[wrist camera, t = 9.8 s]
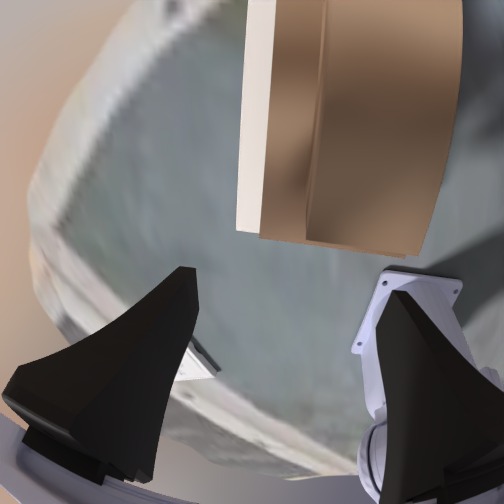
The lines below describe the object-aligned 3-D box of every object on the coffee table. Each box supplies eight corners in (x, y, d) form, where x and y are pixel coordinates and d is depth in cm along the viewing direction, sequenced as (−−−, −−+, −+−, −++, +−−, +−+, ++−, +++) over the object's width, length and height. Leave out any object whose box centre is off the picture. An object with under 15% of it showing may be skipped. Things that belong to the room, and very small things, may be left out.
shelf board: (399, 247, 16) (432, 323, 10) (262, 227, 16) (240, 301, 11) (437, -22, 7) (496, -57, 2) (282, -56, 8) (267, -121, 3)
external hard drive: (105, 334, 33) (177, 318, 28) (143, 375, 36) (218, 368, 32) (99, 343, 31) (172, 330, 27) (139, 384, 35) (215, 379, 30)
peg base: (401, 246, 20) (416, 279, 16) (238, 223, 21) (225, 253, 18) (440, -18, 9) (466, -33, 6) (255, -53, 10) (244, -80, 7)
